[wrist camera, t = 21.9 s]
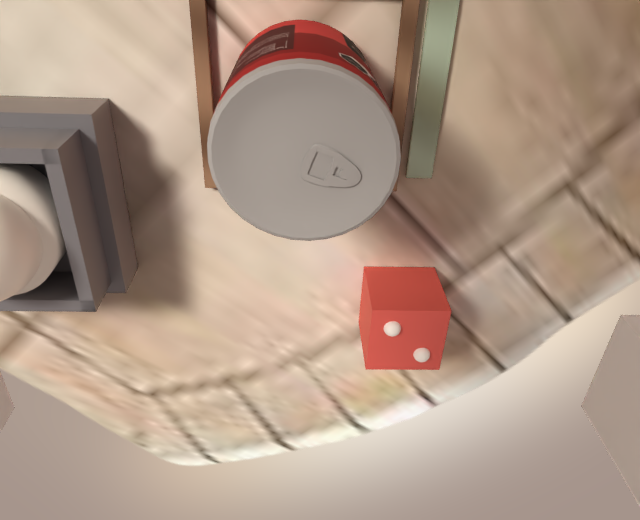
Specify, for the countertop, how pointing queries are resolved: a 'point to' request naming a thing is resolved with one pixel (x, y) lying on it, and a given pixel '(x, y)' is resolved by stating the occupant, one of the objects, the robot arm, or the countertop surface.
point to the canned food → (303, 134)
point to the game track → (428, 88)
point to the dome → (27, 230)
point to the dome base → (73, 197)
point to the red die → (403, 318)
